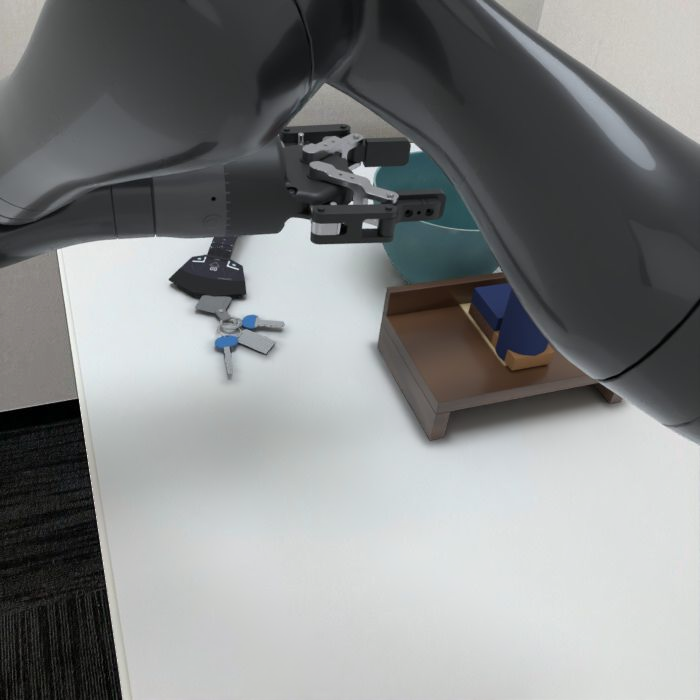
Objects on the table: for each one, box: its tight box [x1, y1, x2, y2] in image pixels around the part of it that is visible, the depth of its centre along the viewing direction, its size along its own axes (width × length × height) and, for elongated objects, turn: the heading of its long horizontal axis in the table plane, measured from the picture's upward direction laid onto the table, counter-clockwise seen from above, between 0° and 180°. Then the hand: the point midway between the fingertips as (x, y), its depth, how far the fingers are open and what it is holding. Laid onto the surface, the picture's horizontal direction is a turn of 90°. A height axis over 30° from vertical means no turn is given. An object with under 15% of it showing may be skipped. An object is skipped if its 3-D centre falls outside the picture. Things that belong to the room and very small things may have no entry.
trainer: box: [468, 283, 554, 371], centre depth 75 cm, size 9×5×11 cm, turn 20°
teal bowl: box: [372, 150, 500, 284], centre depth 91 cm, size 18×18×12 cm
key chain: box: [194, 295, 286, 376], centre depth 83 cm, size 14×8×1 cm, turn 25°
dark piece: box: [168, 236, 247, 299], centre depth 95 cm, size 9×25×3 cm, turn 170°
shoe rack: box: [376, 271, 624, 441], centre depth 79 cm, size 14×22×8 cm, turn 110°
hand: (424, 176), depth 60 cm, fingers open, 8 cm apart
